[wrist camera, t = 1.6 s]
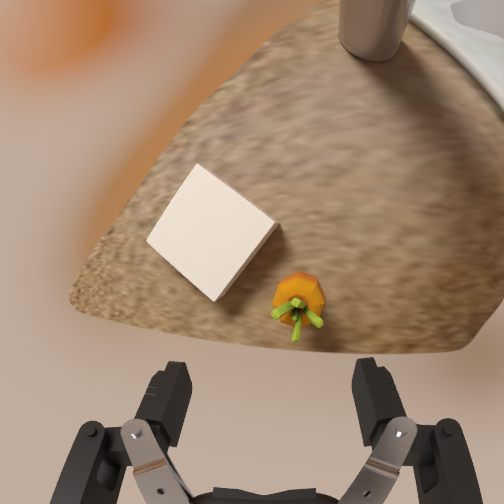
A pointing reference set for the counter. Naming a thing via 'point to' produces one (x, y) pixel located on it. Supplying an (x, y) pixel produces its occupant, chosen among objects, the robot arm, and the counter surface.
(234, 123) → the counter surface
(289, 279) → the carrot
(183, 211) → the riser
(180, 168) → the counter surface
